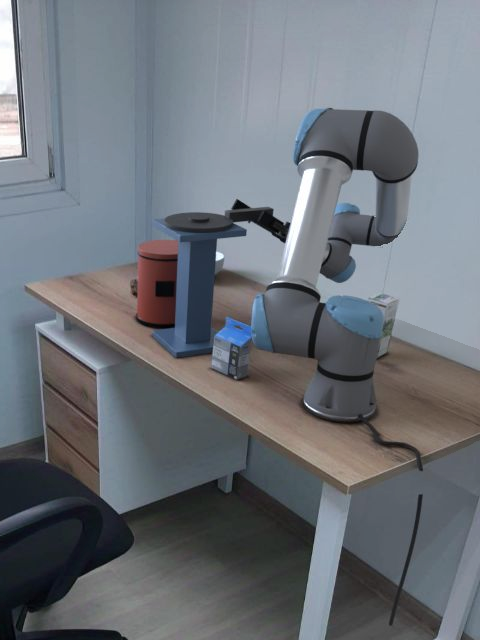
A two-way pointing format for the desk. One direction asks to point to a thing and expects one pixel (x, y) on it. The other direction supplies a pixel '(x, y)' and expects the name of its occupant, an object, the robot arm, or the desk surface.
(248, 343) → the label tape box
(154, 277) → the red banded canister
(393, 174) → the robot arm
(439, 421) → the desk surface
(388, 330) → the syrup box
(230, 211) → the lid
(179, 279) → the stand
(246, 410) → the desk surface
